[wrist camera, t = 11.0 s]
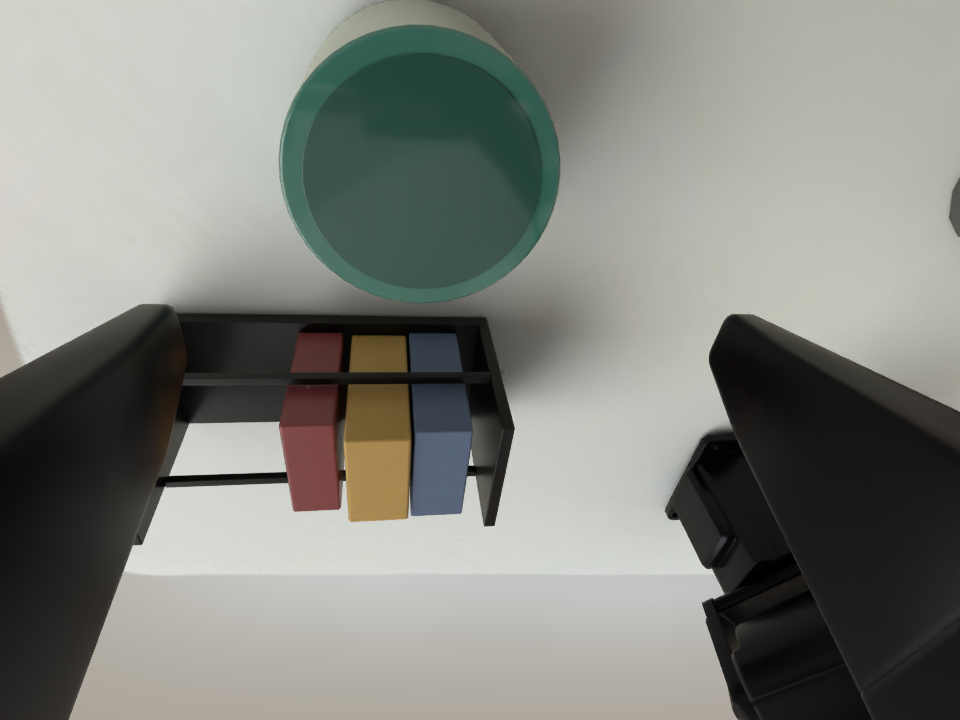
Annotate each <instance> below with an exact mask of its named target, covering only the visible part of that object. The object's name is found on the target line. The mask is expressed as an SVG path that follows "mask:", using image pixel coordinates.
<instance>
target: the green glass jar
mask: <svg viewBox="0 0 960 720" xmlns="http://www.w3.org/2000/svg"><path fill="white" fill-rule="evenodd" d="M279 175H280V182H281V187H282V193H283V197H284V200H285V203H286V206H287V209H288V212H289V215H290V217H291V219H292V221H293V223H294V225H295V227H296V229H297V231H298V232H299V234H300V235H301V237H302V239H303V240H304V242H305V243H306V245H307V246H308V247H309V248H310V249H311V251H312V252H313V253H314V254H315V255H316V257H317V258H318V259H319V260H320V261H321V262H322V263H324V264H325V265H326V266H327V267H328V268H329V269H330V270H331V271H333V272H334V273H335V274H337V275H338V276H339V277H341V278H342V279H343V280H345V281H347V282H348V283H350V284H352V285H354V286H355V287H357V288H359V289H361V290H364V291H366V292H368V293H371V294H373V295H376V296H380V297H383V298H386V299H390V300H396V301H401V302H411V303H436V302H442V301H449V300H454V299H457V298H461V297H465V296H468V295H470V294H473V293H475V292H478V291H480V290H482V289H484V288H486V287H488V286H490V285H492V284H494V283H495V282H497V281H498V280H500V279H501V278H503V277H504V276H506V275H507V274H508V273H509V272H511V271H512V270H513V269H514V268H515V267H516V266H518V265H519V264H520V263H521V261H522V260H523V259H524V258H525V257H526V256H527V255H528V254H529V253H530V251H531V250H532V249H533V247H534V246H535V244H536V243H537V242H538V240H539V239H540V237H541V235H542V233H543V232H544V230H545V228H546V226H547V224H548V221H549V219H550V217H551V214H552V212H553V209H554V205H555V202H556V198H557V194H558V188H559V181H560V151H559V143H558V138H557V134H556V130H555V126H554V122H553V120H552V117H551V115H550V112H549V110H548V107H547V105H546V103H545V101H544V100H543V98H542V96H541V94H540V93H539V91H538V89H537V88H536V86H535V85H534V84H533V82H532V81H531V80H530V79H529V77H528V76H527V75H526V73H525V72H524V71H523V70H522V69H521V68H520V67H519V66H518V64H517V63H516V62H515V61H514V60H513V59H512V58H511V57H510V56H509V55H508V54H507V52H506V51H505V50H504V49H503V48H502V47H501V46H500V45H499V44H498V43H497V42H496V40H495V39H494V38H493V37H492V36H491V35H490V34H489V33H488V32H487V31H486V30H485V29H484V28H483V27H482V26H480V25H479V24H478V23H476V22H475V21H474V20H472V19H471V18H470V17H468V16H467V15H465V14H463V13H461V12H459V11H457V10H456V9H454V8H451V7H449V6H446V5H443V4H440V3H437V2H432V1H427V0H389V1H385V2H381V3H378V4H374V5H371V6H369V7H367V8H365V9H363V10H361V11H358V12H357V13H355V14H354V15H352V16H351V17H349V18H348V19H346V20H345V21H344V22H342V23H341V24H340V25H339V26H338V27H337V28H336V29H335V30H334V31H333V32H332V33H331V34H330V35H329V37H328V38H327V39H326V40H325V42H324V43H323V44H322V46H321V47H320V49H319V51H318V53H317V54H316V56H315V58H314V60H313V62H312V64H311V66H310V67H309V69H308V71H307V73H306V75H305V77H304V79H303V81H302V83H301V85H300V87H299V89H298V91H297V93H296V95H295V97H294V99H293V101H292V103H291V106H290V108H289V111H288V113H287V116H286V118H285V122H284V126H283V130H282V134H281V139H280V149H279Z"/></svg>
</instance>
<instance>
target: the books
mask: <svg viewBox="0 0 960 720" xmlns="http://www.w3.org/2000/svg"><path fill="white" fill-rule="evenodd" d="M310 372H345V356H344V339H343V334H342V333H299V334H298V337H297V342H296V347H295V352H294V357H293V361H292V366H291V371H290V373H310ZM349 372H463V370H462V364H461V358H460V352H459V347H458V341H457V335H456V334H455V333H410V334H409V349H408V363H407V344H406V337H405V336H394V335H354V336H352V341H351V354H350V366H349ZM279 429H280V435H281V441H282V447H283V453H284V459H285V465H286V470H287V476H288V482H289V488H290V494H291V500H292V506H293V510H294V511H317V510H338V509H340V507H341V499H342V486H343V472H344V459H345V470H346V485H347V499H348V514H349V520H350V521H351V522H356V521H376V520H396V519H407V517H408V509H409V486H410V507H411V516H422V515H443V514H460V513H461V512H462V507H463V499H464V492H465V485H466V478H467V471H468V464H469V457H470V450H471V443H472V436H473V428H472V422H471V416H470V410H469V404H468V399H467V393H466V387H465V384H348V392H347V391H346V384H343V385H287V390H286V395H285V400H284V405H283V409H282V414H281V419H280V424H279Z"/></svg>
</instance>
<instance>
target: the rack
mask: <svg viewBox="0 0 960 720" xmlns="http://www.w3.org/2000/svg"><path fill="white" fill-rule="evenodd" d="M177 317H178V321H179V324H180V328H181V331H182V335H183V339H184V342H185V346H186V350H187V366H186V371H185V375H184V380H183V384H182V389H181V393H180V398H179V402H178V407H177V411H176V416H175V420H174V425H173V429H172V434H171V438H170V442H169V446H168V450H167V453H166V456H165V459H164V462H163V465H162V467H161V470H160V473H159V476H158V478H157V481H156V484H155V486H154V489H153V492H152V495H151V497H150V500H149V503H148V505H147V508H146V511H145V514H144V516H143V519H142V522H141V524H140V527H139V530H138V533H137V535H136V538H135V541H134V543H133V545H142V544H143V541H144V539H145V536H146V533H147V531H148V528H149V526H150V523H151V521H152V518H153V515H154V513H155V510H156V508H157V505H158V502H159V500H160V497H161V495H162V492H163V490H164V487H192V486H219V485H246V484H272V483H289V482H288V476H287V472H277V473H248V474H218V475H189V476H169V474H170V472H171V469H172V466H173V464H174V461H175V459H176V456H177V453H178V451H179V448H180V446H181V443H182V441H183V438H184V435H185V433H186V430H187V428H188V425H189V423H232V422H280V419H281V414H282V409H283V405H284V400H285V395H286V390H287V385H343V384H346V391H347V392H348V384H465V387H466V393H467V399H468V404H469V410H470V416H471V422H472V428H473V436H472V443H471V450H472V456H473V462H474V466H468V471H467V476H475V474H476V480H477V486H478V493H479V499H480V505H481V511H482V517H483V523H484V526H494V525H495V521H496V516H497V511H498V506H499V502H500V497H501V492H502V487H503V482H504V478H505V473H506V468H507V463H508V458H509V453H510V449H511V444H512V439H513V434H514V429H515V428H514V424H513V420H512V416H511V412H510V408H509V404H508V400H507V396H506V392H505V388H504V385H503V381H502V377H501V373H500V369H499V365H498V361H497V357H496V353H495V349H494V345H493V342H492V338H491V334H490V330H489V326H488V322H487V318H466V317H391V316H316V315H242V314H177ZM299 333H342V334H343V339H344V356H345V372H310V373H290V371H291V366H292V361H293V357H294V352H295V347H296V342H297V337H298V334H299ZM410 333H455V334H456V335H457V341H458V347H459V352H460V358H461V364H462V370H463V372H349V366H350V354H351V341H352V336H354V335H394V336H405V337H406V344H407V363H408V349H409V334H410ZM343 481H346V470H344V472H343Z"/></svg>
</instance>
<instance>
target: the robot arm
mask: <svg viewBox="0 0 960 720" xmlns="http://www.w3.org/2000/svg"><path fill="white" fill-rule="evenodd" d="M709 364H710V367H711V370H712V373H713V376H714V379H715V381H716V384H717V387H718V390H719V393H720V395H721V398H722V401H723V404H724V407H725V409H726V412H727V415H728V418H729V420H730V423H731V426H732V428H733V431H734V434H723V435H709V436H706V437H704V438H703V439H702V440H701V441H700V443H699V445H698V447H697V448H696V450H695V452H694V454H693V456H692V458H691V460H690V462H689V464H688V466H687V468H686V470H685V472H684V474H683V476H682V478H681V480H680V482H679V483H678V485H677V487H676V489H675V491H674V493H673V495H672V497H671V499H670V501H669V503H668V505H667V507H666V509H665V512H666V514H667V516H668V518H669V519H670V520H680V521H681V523H682V525H683V527H684V529H685V531H686V533H687V535H688V537H689V539H690V541H691V543H692V545H693V547H694V549H695V551H696V553H697V555H698V557H699V559H700V561H701V563H702V565H703V566H704V567H705V568H706V569H712V570H713V572H714V574H715V576H716V578H717V580H718V582H719V584H720V586H721V588H722V590H723V592H724V595H723V596H720V597H718V598H716V599H713V598H711V599H709V600H707V601H705V602H703V603H702V605H703V608H704V611H705V614H706V617H707V618H706V624H707V627H708V630H709V632H710V635H711V638H712V641H713V644H714V647H715V650H716V653H717V656H718V659H719V662H720V665H721V667H722V671H723V674H724V677H725V679H726V682H727V686H728V691H729V696H730V700H731V705H732V709H733V712H734V714H735V716H736V717H737V719H738V720H960V412H959V411H957V410H955V409H953V408H951V407H948V406H946V405H944V404H942V403H940V402H938V401H936V400H934V399H931V398H929V397H927V396H925V395H923V394H921V393H919V392H917V391H915V390H912V389H910V388H908V387H906V386H904V385H902V384H900V383H898V382H895V381H893V380H891V379H889V378H887V377H885V376H883V375H881V374H878V373H876V372H874V371H872V370H870V369H868V368H866V367H864V366H861V365H859V364H857V363H855V362H853V361H851V360H849V359H847V358H844V357H842V356H840V355H838V354H836V353H834V352H832V351H830V350H827V349H825V348H823V347H821V346H819V345H817V344H815V343H813V342H810V341H808V340H806V339H804V338H802V337H800V336H798V335H796V334H794V333H791V332H789V331H787V330H785V329H783V328H781V327H779V326H777V325H774V324H772V323H770V322H768V321H766V320H764V319H762V318H760V317H757V316H755V315H751V314H732V315H730V316H728V317H727V318H726V319H725V320H724V322H723V324H722V326H721V328H720V330H719V333H718V335H717V337H716V339H715V341H714V343H713V346H712V348H711V350H710V354H709ZM186 366H187V350H186V346H185V342H184V339H183V335H182V331H181V328H180V324H179V321H178V317H177V314H176V312H175V310H174V308H173V307H171V306H170V305H166V304H141V305H138V306H136V307H134V308H132V309H130V310H129V311H127V312H125V313H123V314H121V315H119V316H117V317H115V318H113V319H111V320H110V321H108V322H106V323H104V324H102V325H100V326H98V327H96V328H94V329H92V330H91V331H89V332H87V333H85V334H83V335H81V336H79V337H77V338H75V339H73V340H72V341H70V342H68V343H66V344H64V345H62V346H60V347H58V348H56V349H54V350H53V351H51V352H49V353H47V354H45V355H43V356H41V357H39V358H37V359H35V360H34V361H32V362H30V363H28V364H26V365H24V366H22V367H20V368H18V369H16V370H15V371H13V372H11V373H9V374H7V375H5V376H3V377H1V378H0V720H69V717H70V714H71V712H72V709H73V706H74V704H75V701H76V698H77V695H78V693H79V690H80V687H81V684H82V682H83V679H84V676H85V674H86V671H87V668H88V666H89V663H90V660H91V657H92V655H93V652H94V649H95V646H96V644H97V641H98V638H99V635H100V633H101V630H102V627H103V625H104V622H105V619H106V617H107V614H108V611H109V609H110V606H111V603H112V600H113V598H114V595H115V592H116V589H117V587H118V584H119V581H120V579H121V576H122V573H123V571H124V568H125V565H126V562H127V560H128V557H129V554H130V552H131V549H132V546H133V543H134V541H135V538H136V535H137V533H138V530H139V527H140V524H141V522H142V519H143V516H144V514H145V511H146V508H147V505H148V503H149V500H150V497H151V495H152V492H153V489H154V486H155V484H156V481H157V478H158V476H159V473H160V470H161V467H162V465H163V462H164V459H165V456H166V453H167V450H168V446H169V442H170V438H171V434H172V429H173V425H174V420H175V416H176V411H177V407H178V402H179V398H180V393H181V389H182V384H183V380H184V375H185V371H186Z"/></svg>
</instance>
